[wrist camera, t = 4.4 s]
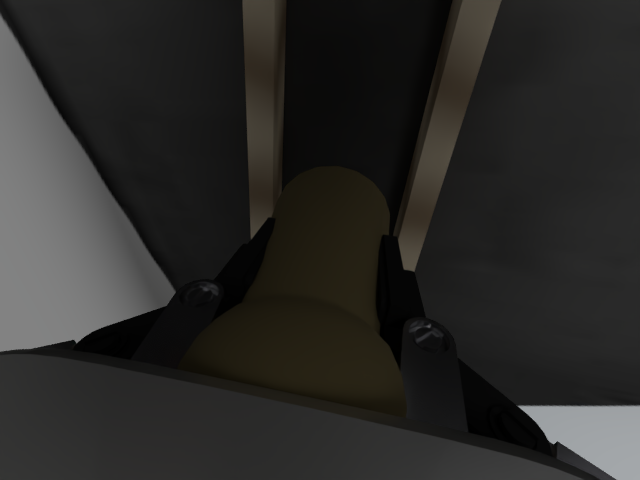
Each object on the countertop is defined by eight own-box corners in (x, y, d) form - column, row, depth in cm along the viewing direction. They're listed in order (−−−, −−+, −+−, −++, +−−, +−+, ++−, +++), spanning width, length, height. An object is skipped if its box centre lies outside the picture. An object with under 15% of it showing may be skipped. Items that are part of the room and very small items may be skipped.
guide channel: (256, -150, 11) (185, -316, 7) (529, -144, 10) (655, -331, 6) (262, 341, 25) (241, 391, 21) (377, 363, 24) (380, 420, 20)
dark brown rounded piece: (275, 261, 16) (143, 529, 6) (274, 158, 12) (5, 380, 3) (377, 276, 15) (405, 591, 6) (403, 173, 12) (556, 490, 3)
